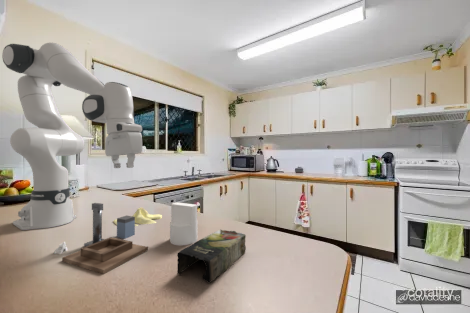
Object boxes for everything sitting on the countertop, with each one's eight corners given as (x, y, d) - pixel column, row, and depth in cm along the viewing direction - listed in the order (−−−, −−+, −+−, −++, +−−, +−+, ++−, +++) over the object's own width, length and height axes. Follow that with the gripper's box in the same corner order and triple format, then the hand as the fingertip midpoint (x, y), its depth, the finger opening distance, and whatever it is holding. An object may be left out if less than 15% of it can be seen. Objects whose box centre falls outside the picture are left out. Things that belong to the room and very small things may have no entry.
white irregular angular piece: (62, 255, 62) (62, 244, 62) (52, 255, 61) (52, 244, 61) (69, 250, 65) (69, 240, 65) (59, 251, 64) (59, 240, 64)
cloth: (103, 226, 88) (103, 211, 88) (134, 214, 106) (134, 201, 106) (151, 231, 82) (151, 215, 82) (175, 217, 100) (175, 204, 100)
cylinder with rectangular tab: (202, 237, 74) (202, 203, 74) (186, 247, 66) (186, 208, 66) (181, 233, 78) (182, 200, 78) (164, 242, 70) (164, 205, 70)
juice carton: (219, 244, 69) (220, 225, 69) (248, 251, 65) (248, 230, 64) (175, 276, 51) (175, 250, 51) (210, 288, 47) (210, 260, 46)
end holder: (62, 261, 57) (62, 250, 57) (110, 241, 70) (110, 232, 70) (103, 274, 51) (103, 261, 51) (147, 250, 64) (148, 240, 64)
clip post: (84, 246, 67) (84, 204, 67) (99, 240, 71) (99, 201, 71) (94, 248, 65) (95, 206, 65) (110, 242, 69) (110, 202, 69)
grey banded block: (116, 237, 75) (116, 218, 75) (126, 233, 78) (126, 215, 78) (125, 238, 73) (125, 219, 73) (134, 234, 77) (134, 216, 77)
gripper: (99, 131, 79) (101, 169, 79) (125, 124, 67) (128, 168, 67) (116, 132, 84) (119, 167, 84) (144, 125, 72) (147, 166, 72)
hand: (123, 168), depth 76 cm, fingers open, 8 cm apart
